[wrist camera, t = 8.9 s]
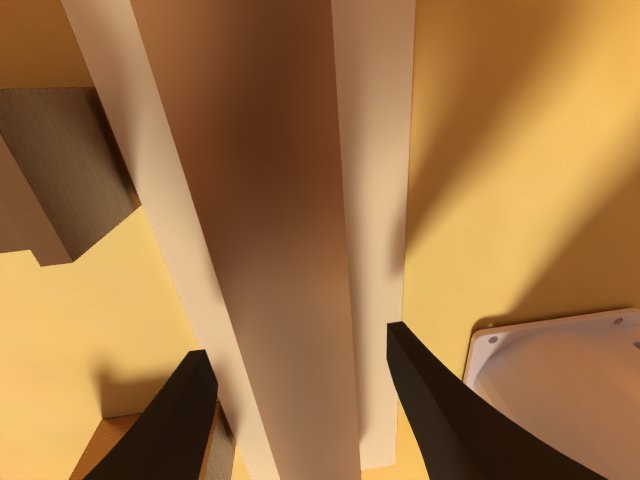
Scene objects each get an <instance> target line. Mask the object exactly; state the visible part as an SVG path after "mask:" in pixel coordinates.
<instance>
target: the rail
mask: <svg viewBox="0 0 640 480" xmlns="http://www.w3.org/2000/svg"><path fill="white" fill-rule="evenodd" d="M130 3H131V6H132V10H133V13H134V16H135V19H136V22H137V25H138V29H139V32H140V35H141V38H142V41H143V45H144V48H145V51H146V54H147V57H148V60H149V64H150V67H151V70H152V73H153V76H154V80H155V83H156V86H157V89H158V92H159V95H160V99H161V102H162V105H163V108H164V111H165V115H166V118H167V121H168V124H169V127H170V130H171V134H172V137H173V140H174V143H175V146H176V150H177V153H178V156H179V159H180V162H181V165H182V169H183V172H184V175H185V178H186V181H187V185H188V188H189V191H190V194H191V197H192V201H193V204H194V207H195V210H196V213H197V216H198V220H199V223H200V226H201V229H202V232H203V236H204V239H205V242H206V245H207V248H208V251H209V255H210V258H211V261H212V264H213V267H214V271H215V274H216V277H217V280H218V283H219V286H220V290H221V293H222V296H223V299H224V302H225V306H226V309H227V312H228V315H229V318H230V321H231V325H232V328H233V331H234V334H235V337H236V341H237V344H238V347H239V350H240V353H241V356H242V360H243V363H244V366H245V369H246V372H247V376H248V379H249V382H250V385H251V388H252V391H253V395H254V398H255V401H256V404H257V407H258V411H259V414H260V417H261V420H262V423H263V426H264V430H265V433H266V436H267V439H268V442H269V446H270V449H271V452H272V455H273V458H274V461H275V465H276V468H277V471H278V474H279V477H280V480H361V464H360V448H359V433H358V417H357V401H356V385H355V369H354V354H353V338H352V322H351V306H350V291H349V275H348V259H347V243H346V227H345V212H344V196H343V180H342V164H341V148H340V133H339V117H338V101H337V85H336V69H335V54H334V38H333V22H332V6H331V0H130Z"/></svg>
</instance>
